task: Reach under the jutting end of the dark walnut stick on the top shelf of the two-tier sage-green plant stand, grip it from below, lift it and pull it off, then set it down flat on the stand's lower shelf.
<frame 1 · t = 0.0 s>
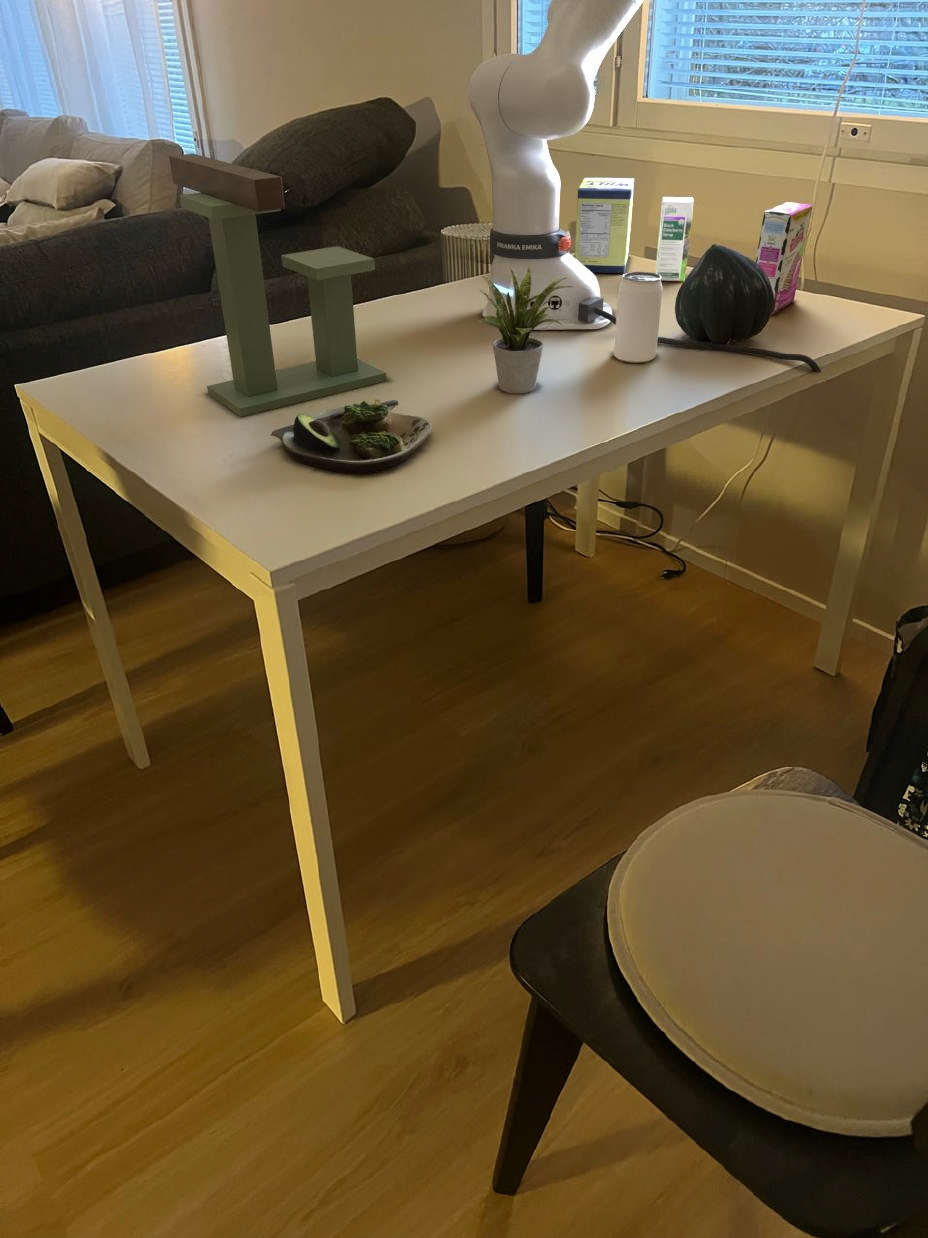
walnut stick: (225, 195, 116), point 26 cm above the table, touching plant stand
protein box: (601, 265, 192), on the table
house plant: (522, 391, 131), on the table
syrup box: (669, 278, 182), on the table
candy bar box: (771, 307, 164), on the table
squash: (718, 340, 149), on the table
plant stand: (298, 387, 133), on the table
can: (634, 358, 142), on the table
salad plate: (354, 447, 115), on the table
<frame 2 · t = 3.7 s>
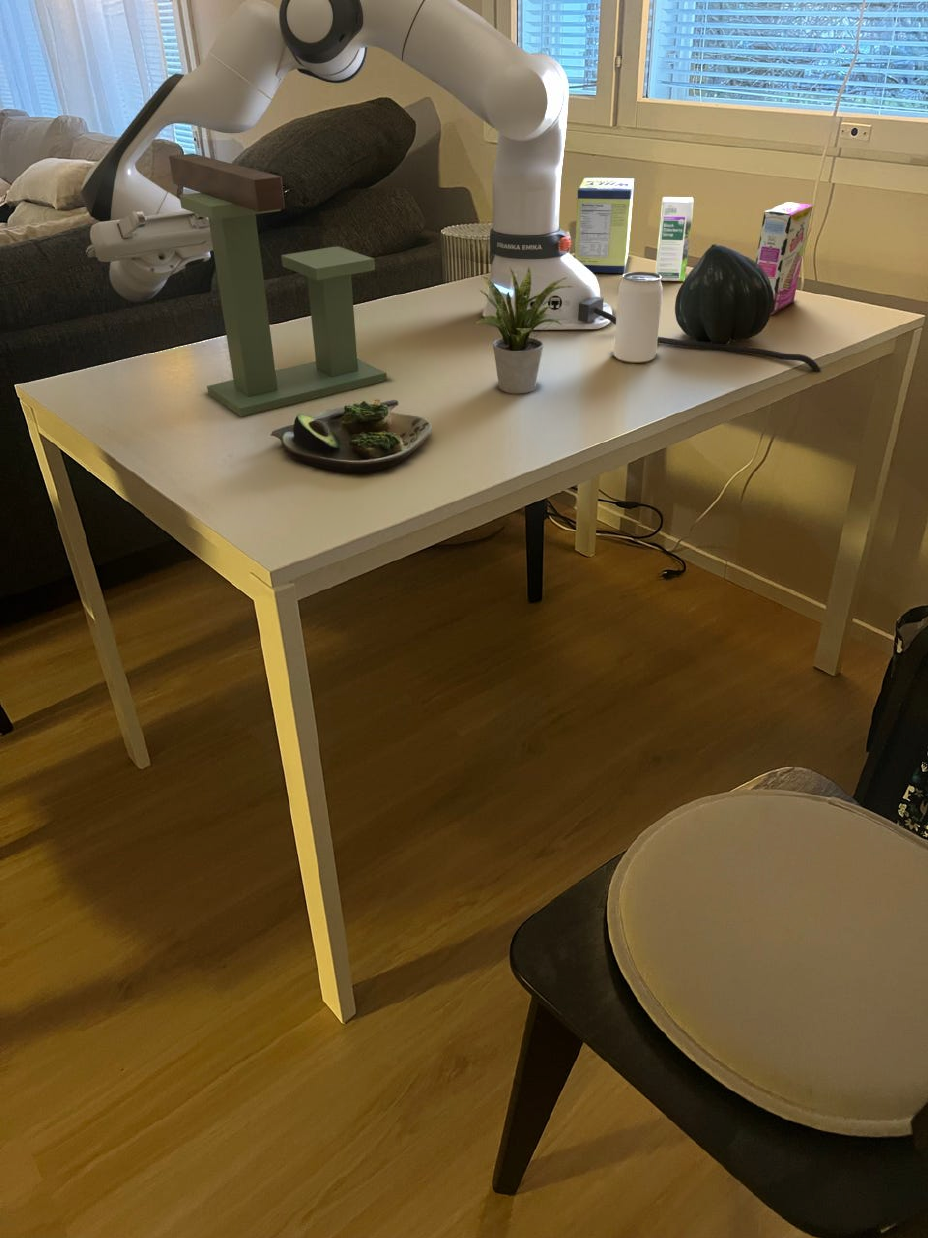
hand: (171, 212, 132), 21 cm above the table, tool pointing upward, fingers open, 8 cm apart
nothing on the table moved.
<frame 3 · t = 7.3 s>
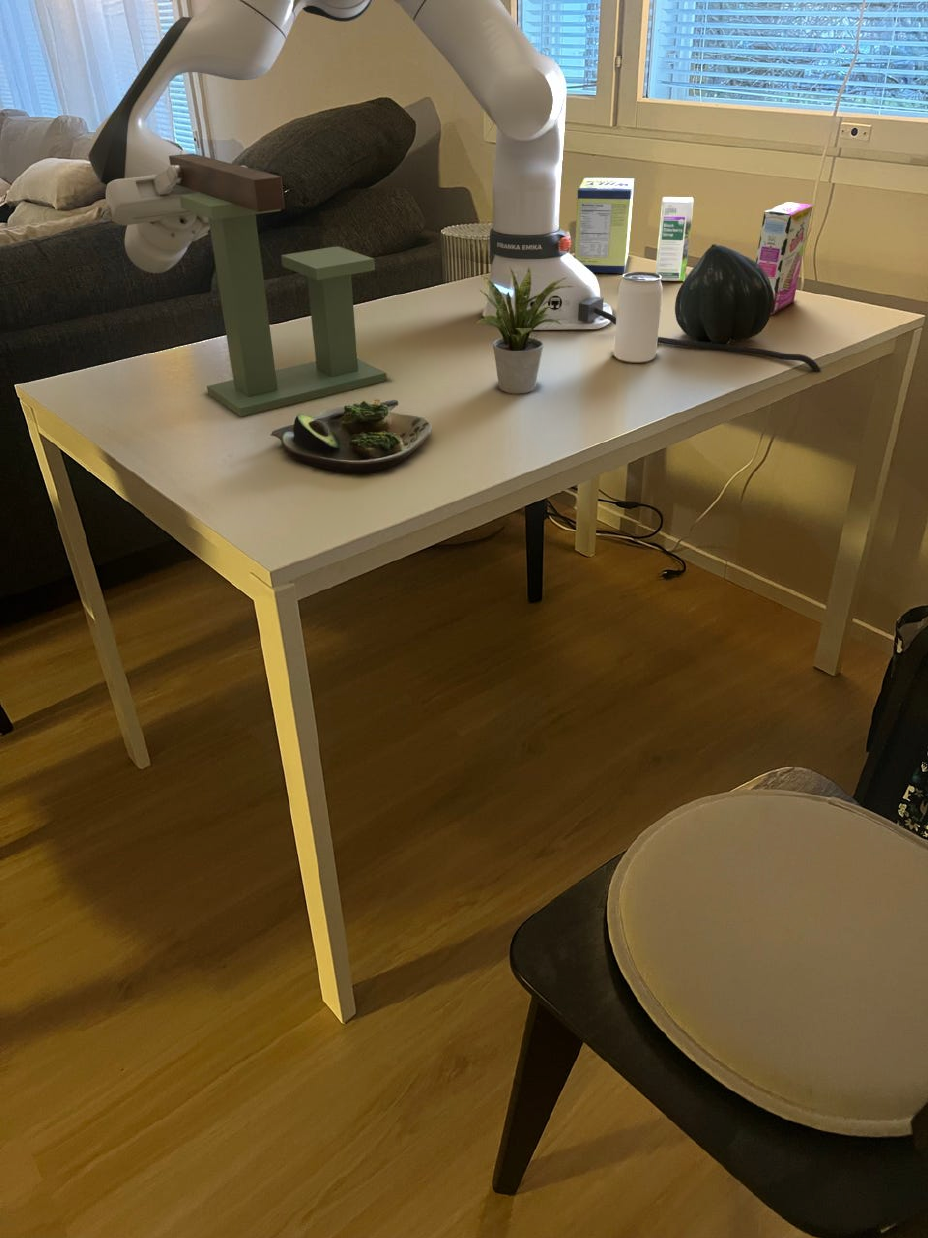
hand: (195, 168, 120), 28 cm above the table, tool pointing upward, fingers closed on walnut stick, 3 cm apart
walnut stick: (225, 195, 116), point 26 cm above the table, touching gripper, plant stand
everything else where it was.
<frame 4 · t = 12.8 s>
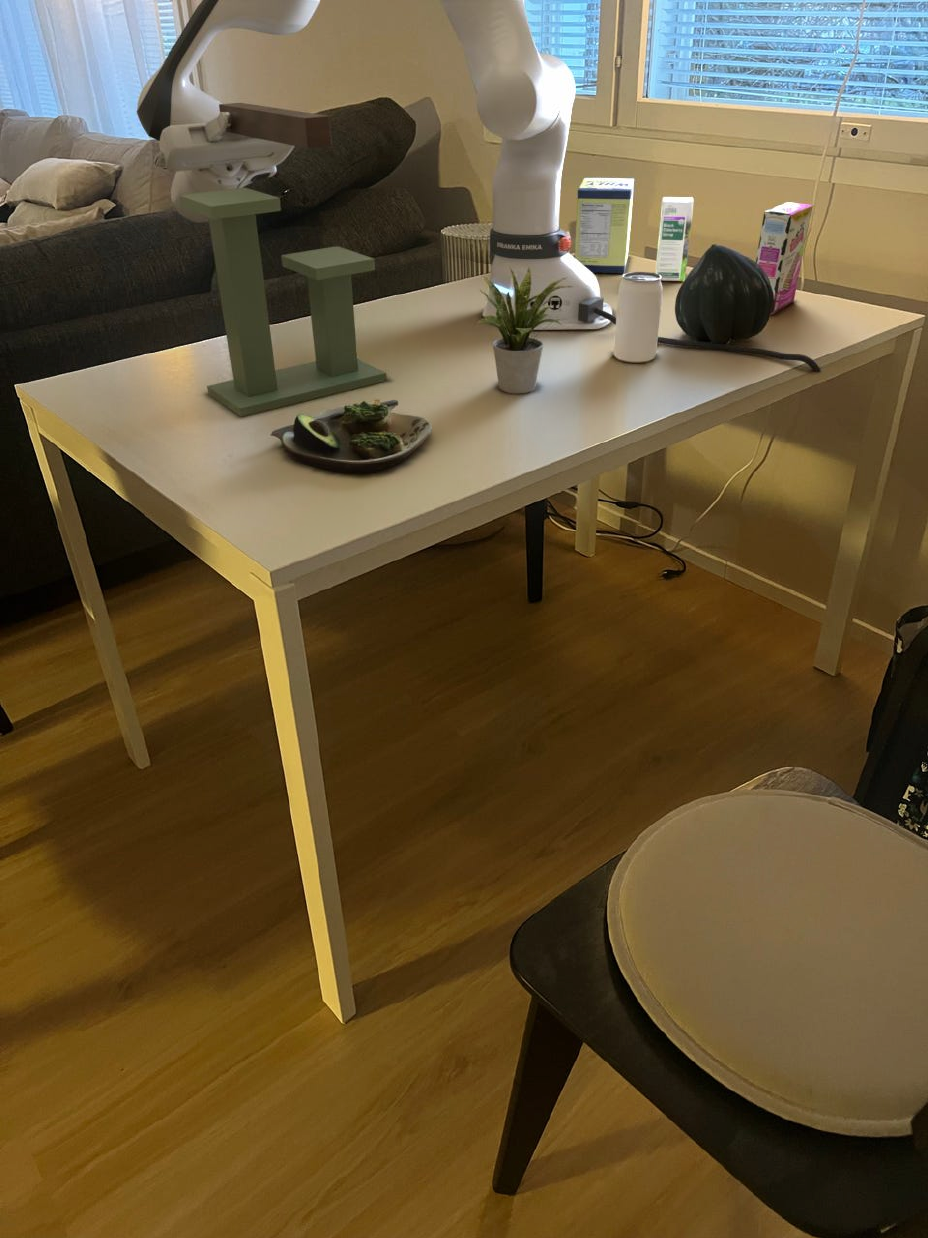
hand: (244, 115, 129), 33 cm above the table, tool pointing upward, fingers closed on walnut stick, 3 cm apart
walnut stick: (273, 138, 125), point 31 cm above the table, touching gripper
everything else where it was.
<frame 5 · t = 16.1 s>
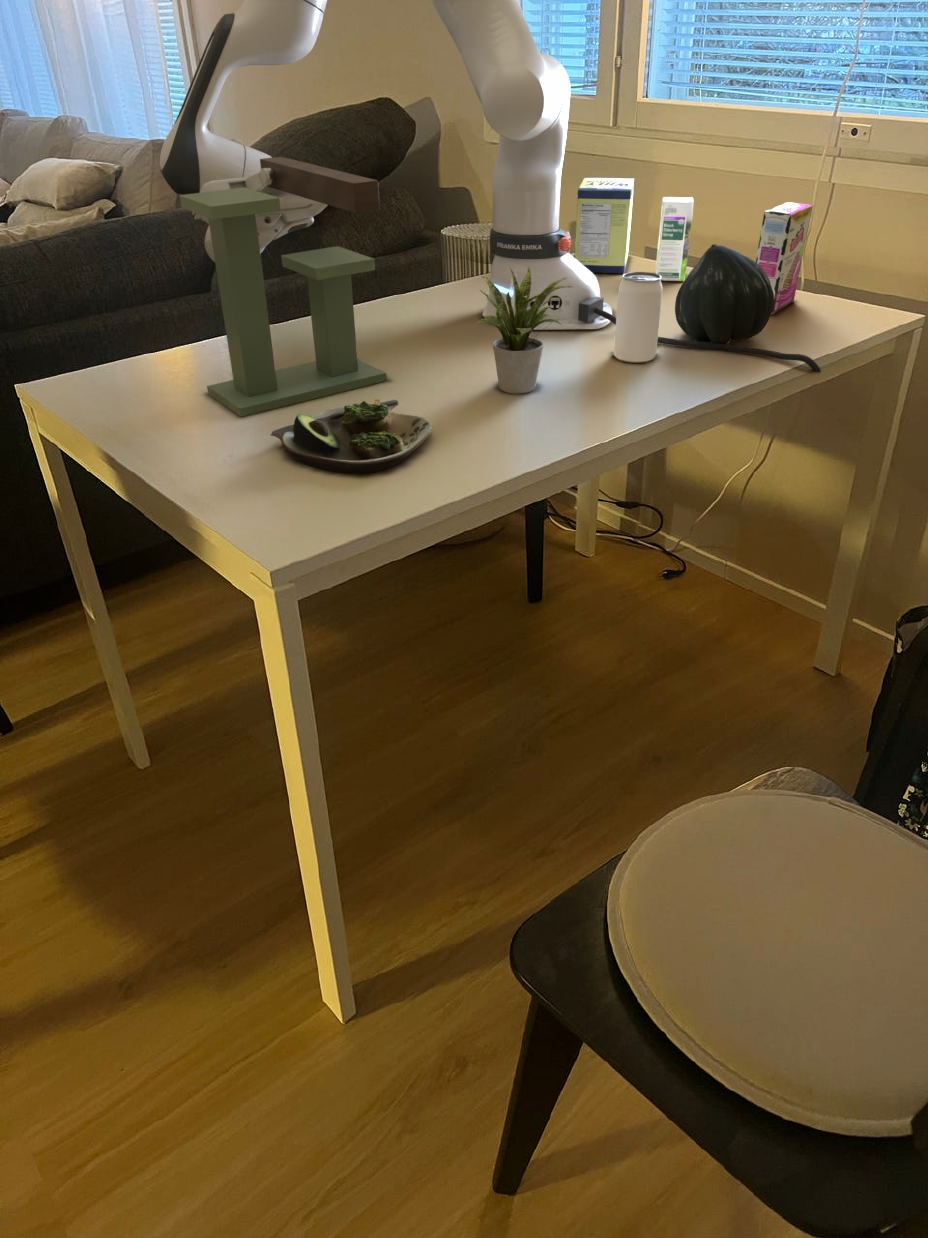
hand: (285, 171, 127), 27 cm above the table, tool pointing upward, fingers closed on walnut stick, 3 cm apart
walnut stick: (317, 196, 123), point 24 cm above the table, touching gripper
everything else where it was.
when the fingers open (19 cm above the table, at t = 18.5 s): walnut stick stays where it is, resting on plant stand.
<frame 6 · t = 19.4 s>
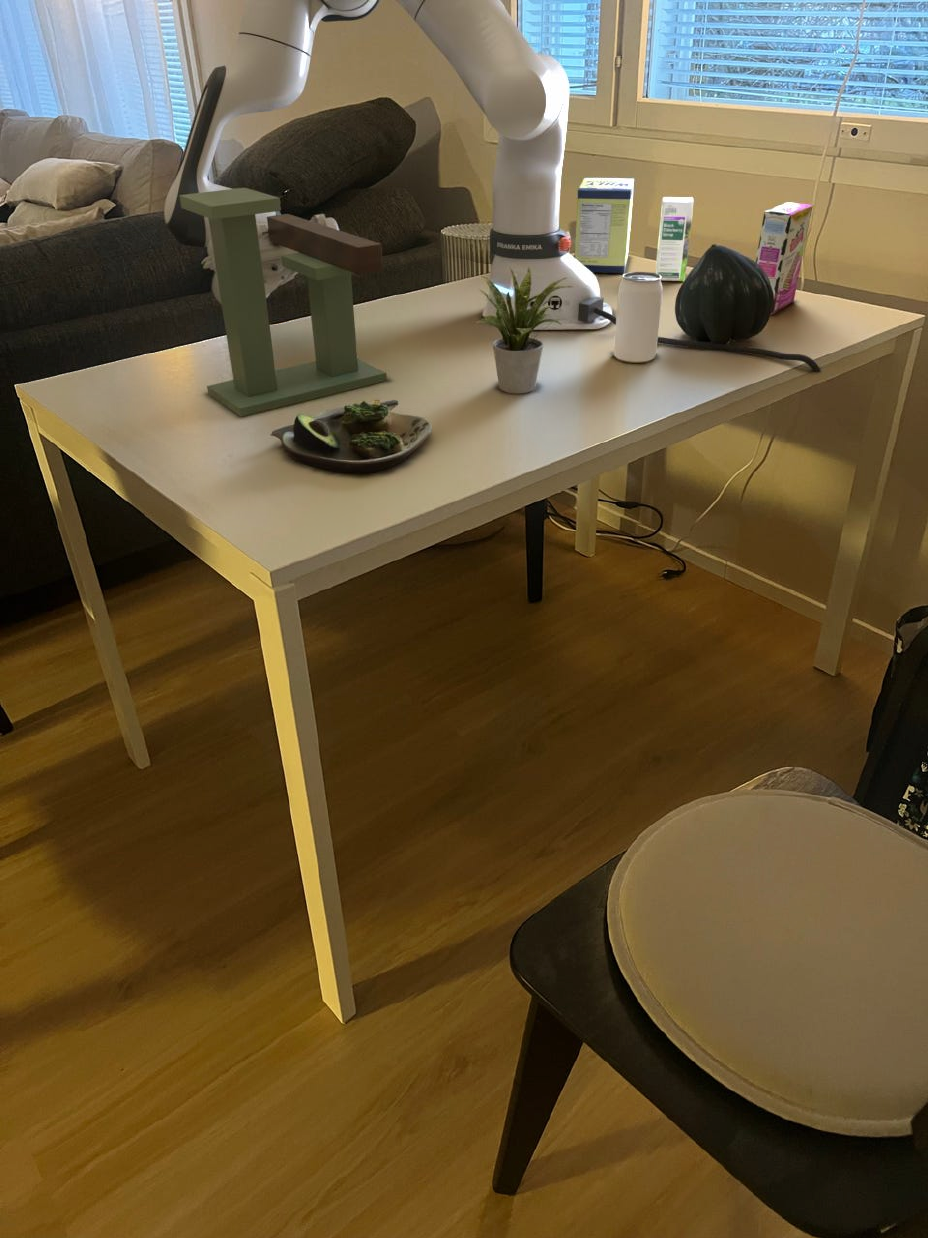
hand: (292, 223, 131), 20 cm above the table, tool pointing upward, fingers open, 8 cm apart
walnut stick: (322, 255, 127), point 17 cm above the table, touching plant stand
everything else where it was.
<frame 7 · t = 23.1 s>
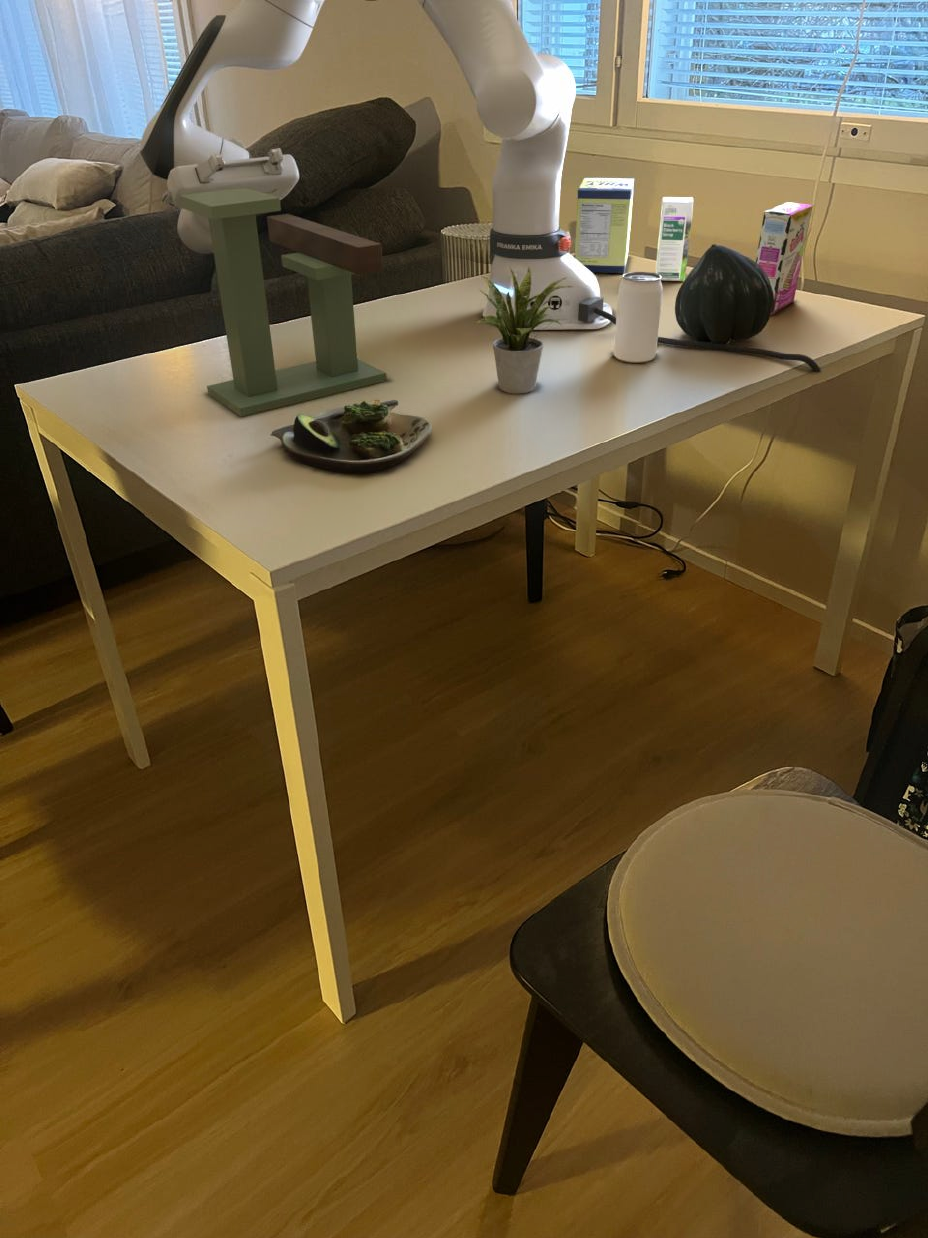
hand: (248, 156, 135), 27 cm above the table, tool pointing upward, fingers open, 8 cm apart
nothing on the table moved.
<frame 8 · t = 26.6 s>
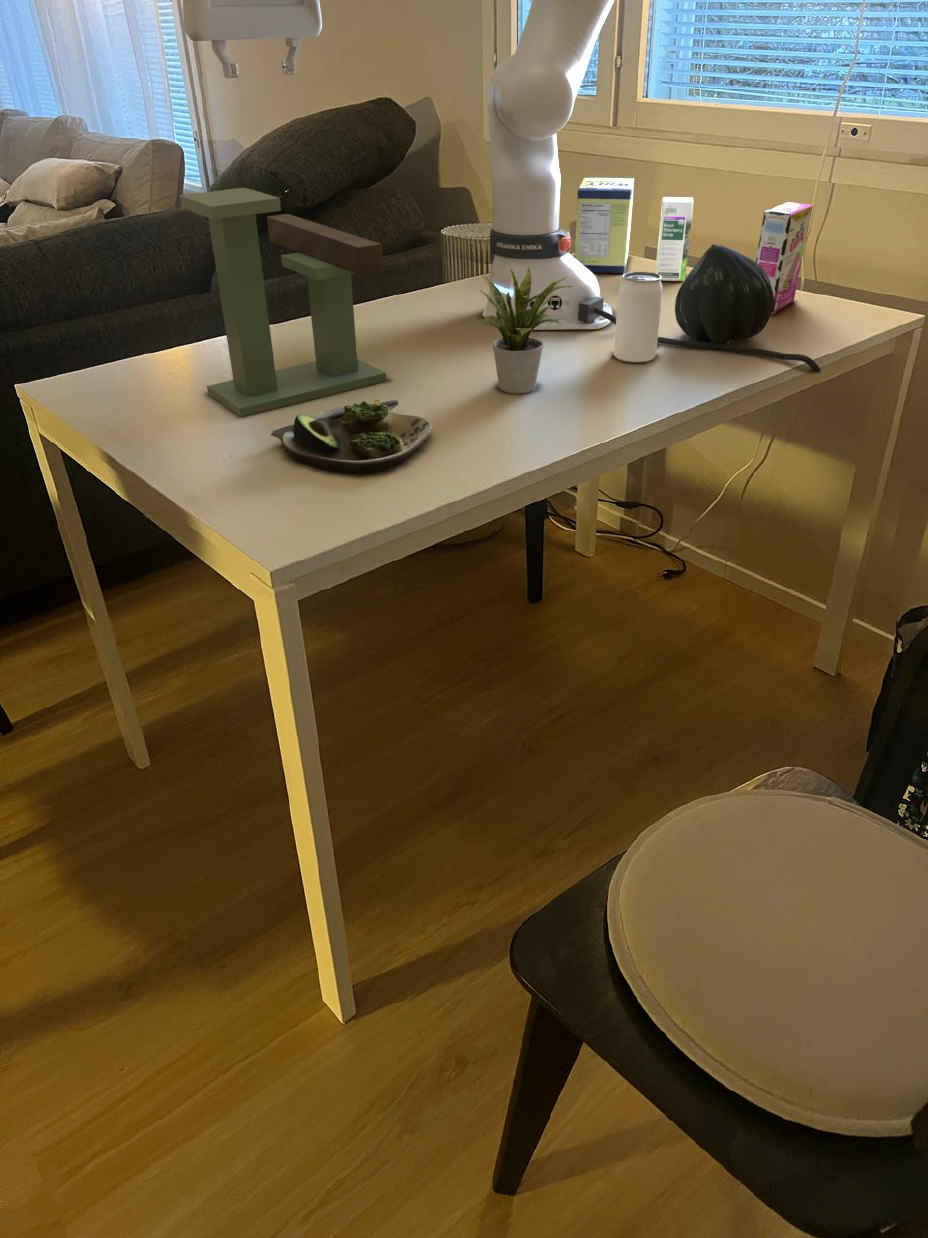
hand: (260, 75, 136), 37 cm above the table, tool pointing down, fingers open, 8 cm apart
nothing on the table moved.
at the end: walnut stick inside the target area on the plant stand (0.2 cm from its centre), point 17.0 cm above the plant stand's base; walnut stick tilted 0°; the gripper is holding nothing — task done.
